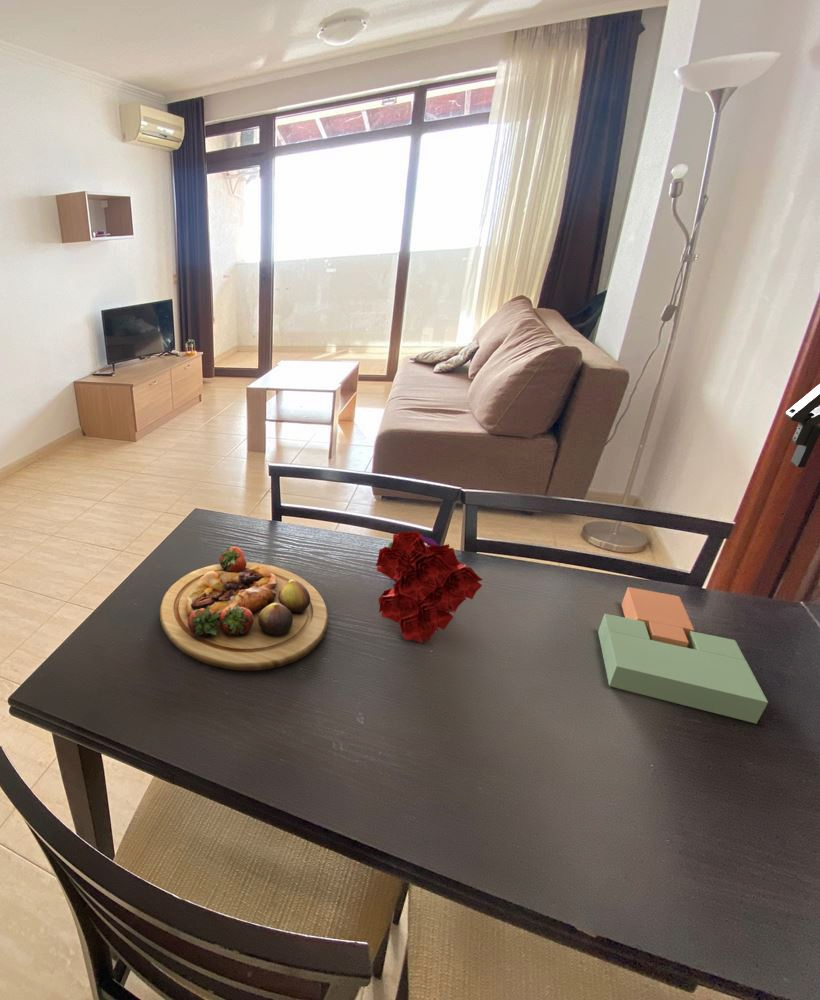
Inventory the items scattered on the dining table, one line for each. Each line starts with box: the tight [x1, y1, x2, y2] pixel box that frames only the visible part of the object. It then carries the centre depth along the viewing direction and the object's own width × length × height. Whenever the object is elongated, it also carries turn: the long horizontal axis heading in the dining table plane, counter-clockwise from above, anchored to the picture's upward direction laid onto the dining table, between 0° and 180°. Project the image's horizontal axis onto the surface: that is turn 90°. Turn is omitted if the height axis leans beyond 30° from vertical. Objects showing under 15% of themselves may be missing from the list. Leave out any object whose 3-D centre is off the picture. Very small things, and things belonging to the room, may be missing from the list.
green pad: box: [597, 613, 769, 725], centre depth 82 cm, size 16×14×4 cm
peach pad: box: [621, 586, 695, 648], centre depth 90 cm, size 7×14×4 cm, turn 149°
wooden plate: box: [159, 546, 329, 671], centre depth 103 cm, size 32×32×8 cm
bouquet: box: [375, 530, 483, 643], centre depth 104 cm, size 20×16×30 cm
